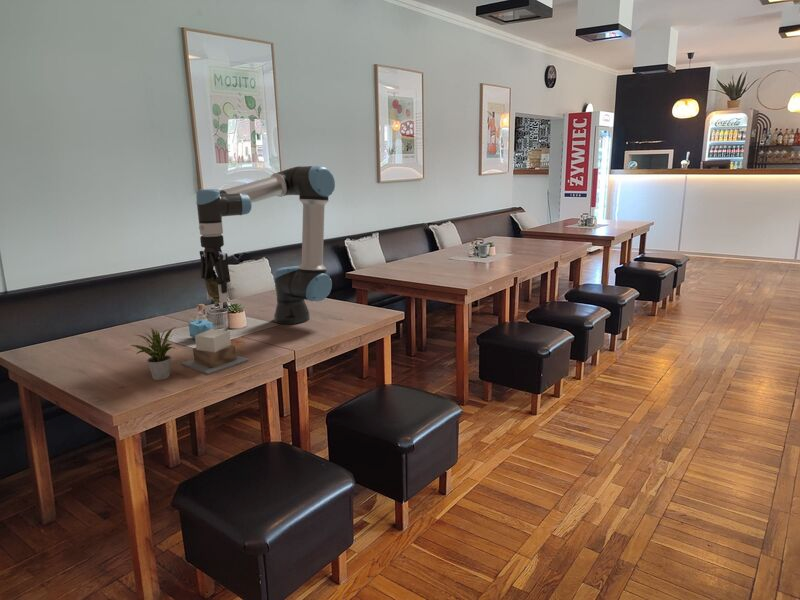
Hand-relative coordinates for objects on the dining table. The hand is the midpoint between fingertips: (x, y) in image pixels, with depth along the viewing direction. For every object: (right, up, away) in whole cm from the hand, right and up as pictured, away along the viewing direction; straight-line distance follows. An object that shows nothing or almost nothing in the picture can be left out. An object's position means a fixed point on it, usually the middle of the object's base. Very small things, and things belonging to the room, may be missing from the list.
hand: (217, 300), depth 198 cm
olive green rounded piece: (0, 0, 0) cm, 1 cm away
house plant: (-13, -25, -14) cm, 31 cm away
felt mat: (+1, -21, -4) cm, 22 cm away
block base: (+1, -21, -4) cm, 21 cm away
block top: (+1, -16, -5) cm, 17 cm away
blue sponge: (-14, -15, +24) cm, 32 cm away
